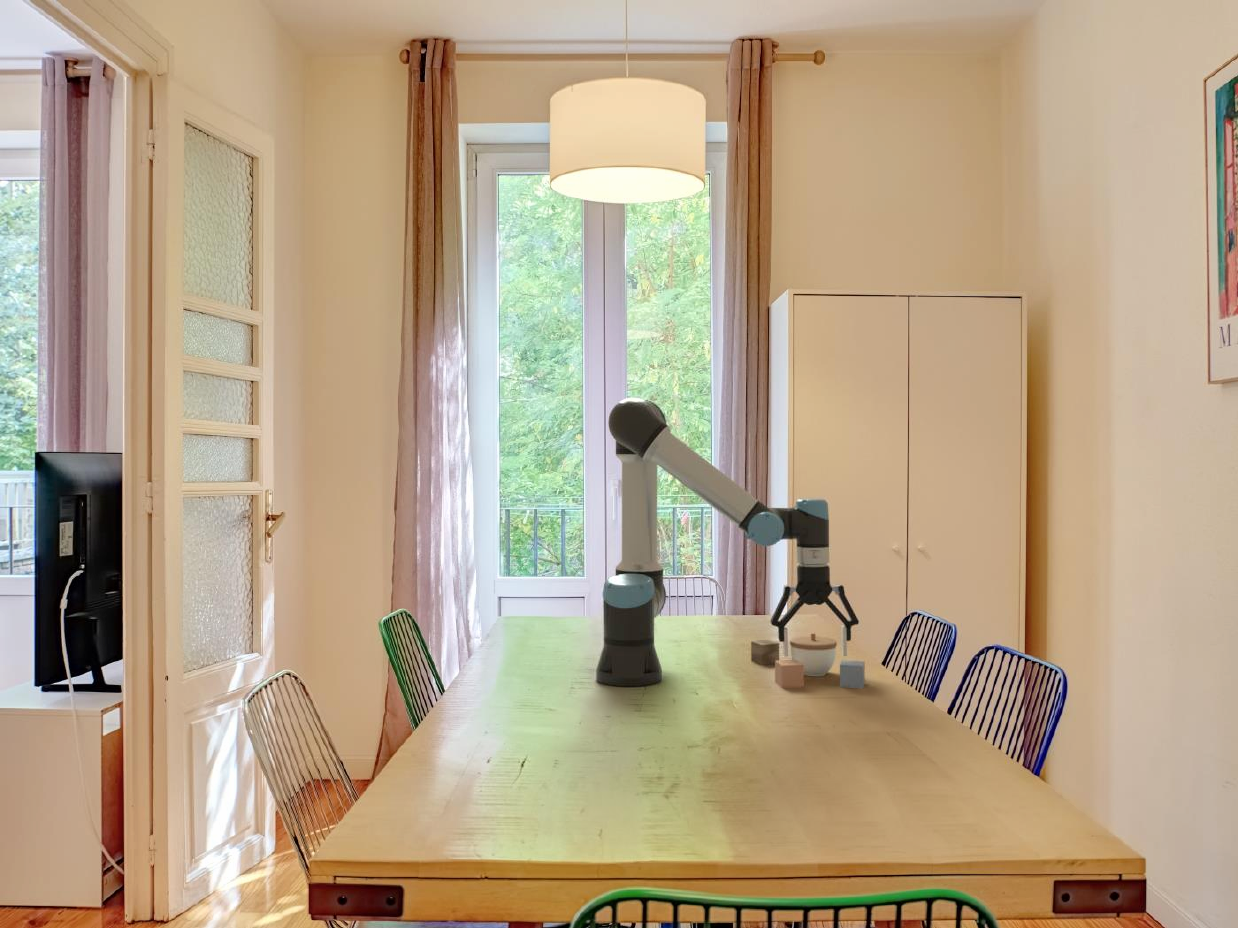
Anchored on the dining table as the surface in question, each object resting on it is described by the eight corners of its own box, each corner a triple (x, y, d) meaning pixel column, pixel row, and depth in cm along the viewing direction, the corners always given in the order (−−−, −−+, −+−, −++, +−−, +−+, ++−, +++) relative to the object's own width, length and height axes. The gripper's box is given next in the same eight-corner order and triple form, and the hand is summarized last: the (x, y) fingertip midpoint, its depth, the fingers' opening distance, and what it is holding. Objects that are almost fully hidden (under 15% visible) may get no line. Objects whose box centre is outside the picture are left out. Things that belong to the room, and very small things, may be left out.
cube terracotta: (781, 688, 217) (781, 665, 217) (775, 682, 222) (775, 660, 222) (803, 687, 218) (803, 664, 218) (796, 681, 223) (796, 659, 223)
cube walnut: (761, 665, 240) (761, 644, 240) (751, 661, 245) (751, 641, 245) (779, 663, 242) (779, 643, 242) (768, 659, 247) (768, 639, 246)
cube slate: (839, 687, 218) (839, 664, 218) (841, 681, 223) (841, 659, 223) (863, 688, 216) (863, 666, 216) (864, 683, 221) (864, 661, 221)
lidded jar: (824, 680, 223) (824, 639, 223) (781, 674, 230) (781, 634, 230) (844, 672, 232) (844, 632, 232) (802, 666, 238) (802, 627, 238)
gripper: (761, 567, 227) (763, 658, 228) (870, 565, 226) (872, 657, 226) (758, 563, 235) (759, 652, 235) (863, 561, 234) (865, 651, 234)
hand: (814, 655), depth 231 cm, fingers open, 13 cm apart
